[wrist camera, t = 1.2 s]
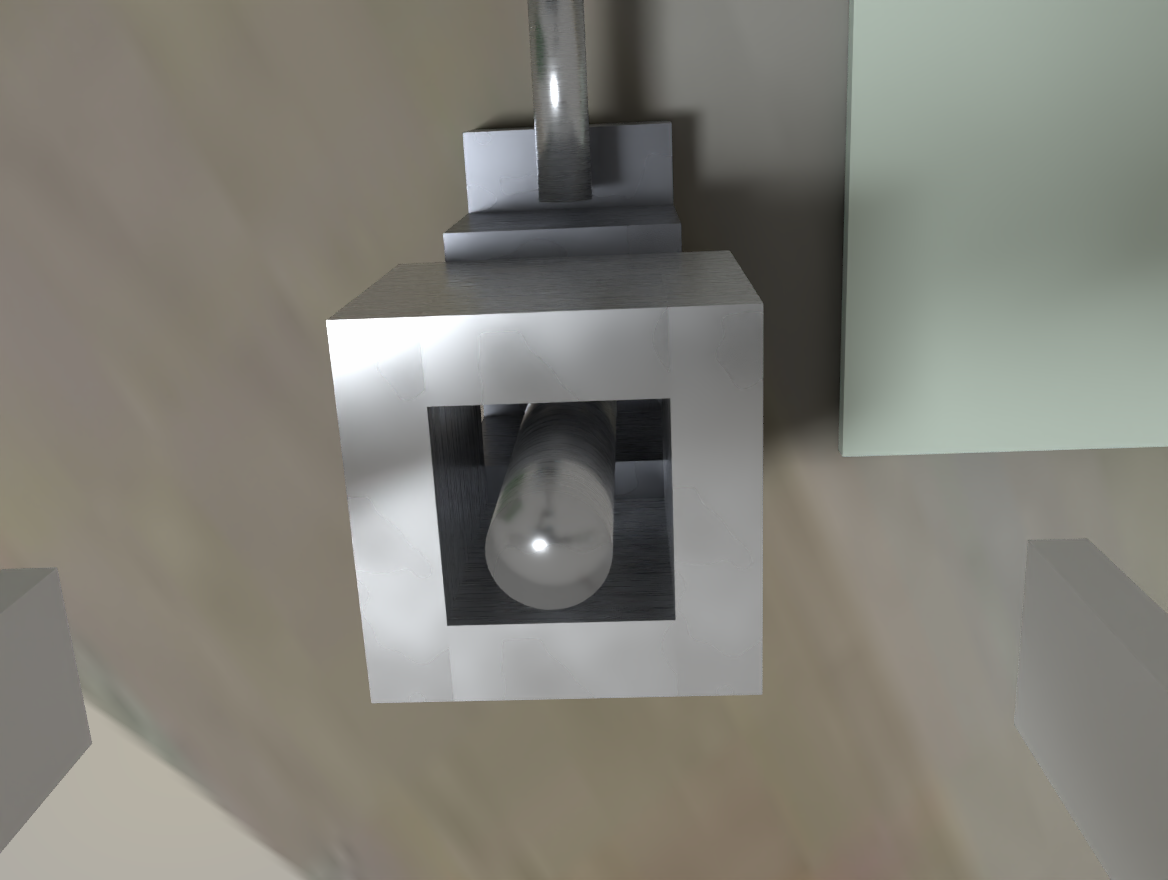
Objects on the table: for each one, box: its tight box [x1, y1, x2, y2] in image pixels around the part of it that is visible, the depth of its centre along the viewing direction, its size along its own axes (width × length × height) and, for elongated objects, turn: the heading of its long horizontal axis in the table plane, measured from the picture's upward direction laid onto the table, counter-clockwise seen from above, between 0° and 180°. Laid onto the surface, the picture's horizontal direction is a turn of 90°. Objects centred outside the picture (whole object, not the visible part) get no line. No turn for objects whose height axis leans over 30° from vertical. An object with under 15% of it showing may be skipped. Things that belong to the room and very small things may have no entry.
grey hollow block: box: [326, 250, 763, 703], centre depth 22 cm, size 7×7×6 cm
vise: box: [443, 0, 682, 610], centre depth 23 cm, size 16×5×14 cm, turn 3°
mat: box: [838, 0, 1168, 457], centre depth 28 cm, size 12×12×1 cm
